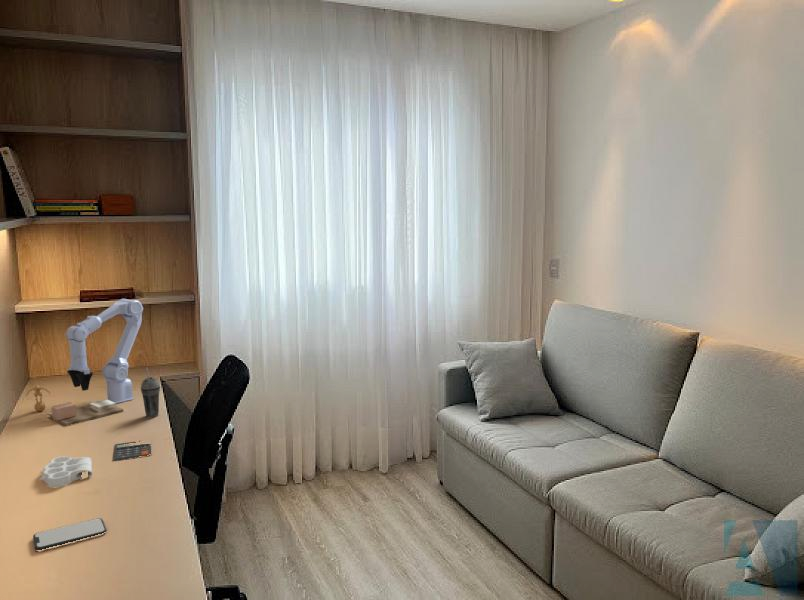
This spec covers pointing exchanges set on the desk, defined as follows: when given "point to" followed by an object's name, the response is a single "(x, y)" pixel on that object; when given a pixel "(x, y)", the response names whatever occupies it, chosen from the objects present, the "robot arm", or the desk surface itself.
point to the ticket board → (92, 412)
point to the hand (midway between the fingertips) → (81, 388)
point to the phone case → (68, 533)
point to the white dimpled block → (65, 470)
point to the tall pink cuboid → (63, 411)
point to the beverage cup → (150, 395)
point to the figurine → (40, 405)
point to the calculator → (130, 451)
